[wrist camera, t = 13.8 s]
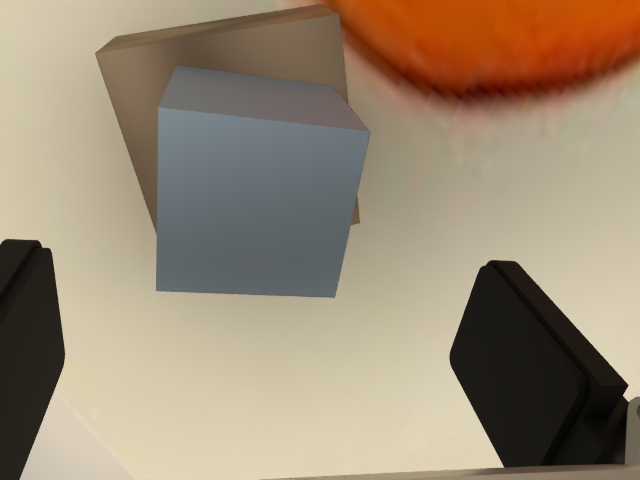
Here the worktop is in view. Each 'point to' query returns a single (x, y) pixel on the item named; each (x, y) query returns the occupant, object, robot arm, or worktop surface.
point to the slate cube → (254, 184)
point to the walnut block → (215, 54)
